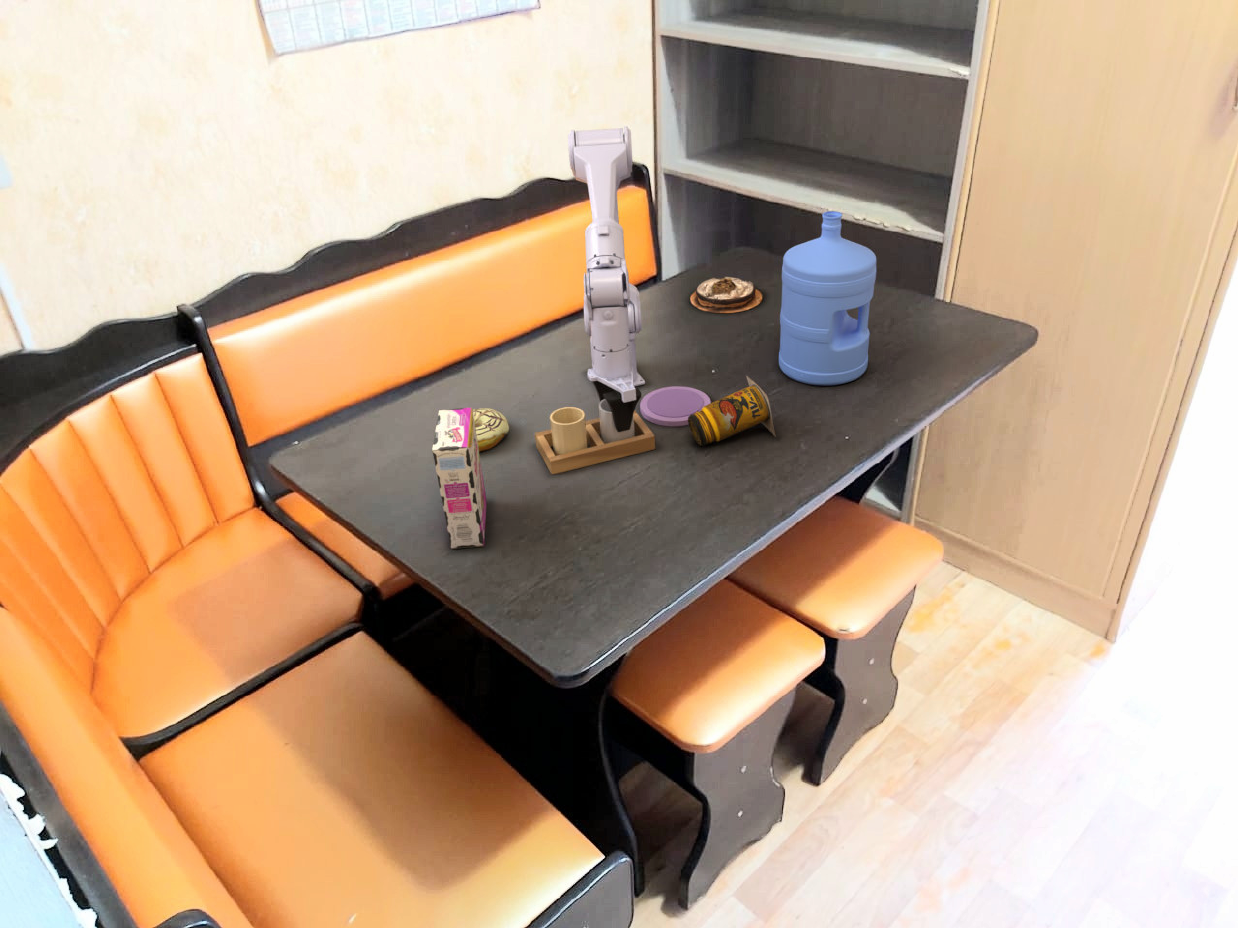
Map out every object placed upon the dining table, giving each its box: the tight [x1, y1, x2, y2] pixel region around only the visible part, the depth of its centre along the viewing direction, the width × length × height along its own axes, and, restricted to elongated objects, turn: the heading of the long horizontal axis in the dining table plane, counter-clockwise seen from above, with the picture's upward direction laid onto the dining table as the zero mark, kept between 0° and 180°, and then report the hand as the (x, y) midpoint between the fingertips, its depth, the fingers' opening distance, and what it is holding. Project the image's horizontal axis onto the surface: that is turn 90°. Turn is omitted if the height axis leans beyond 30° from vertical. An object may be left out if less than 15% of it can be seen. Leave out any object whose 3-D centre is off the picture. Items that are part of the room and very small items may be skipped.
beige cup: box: [549, 406, 589, 456], centre depth 145 cm, size 5×5×7 cm
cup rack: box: [534, 409, 656, 475], centre depth 147 cm, size 9×17×2 cm, turn 110°
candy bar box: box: [431, 407, 488, 550], centre depth 128 cm, size 11×5×16 cm, turn 5°
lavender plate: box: [639, 385, 712, 427], centre depth 156 cm, size 12×12×1 cm
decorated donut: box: [472, 407, 510, 452], centre depth 151 cm, size 10×11×4 cm
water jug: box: [778, 210, 877, 387], centre depth 158 cm, size 16×16×28 cm
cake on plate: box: [690, 276, 763, 314], centre depth 193 cm, size 15×15×4 cm
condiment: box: [688, 374, 777, 447], centre depth 146 cm, size 7×8×12 cm
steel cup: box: [598, 399, 636, 444], centre depth 147 cm, size 5×5×7 cm
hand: (616, 421), depth 147 cm, fingers closed on steel cup, 5 cm apart
